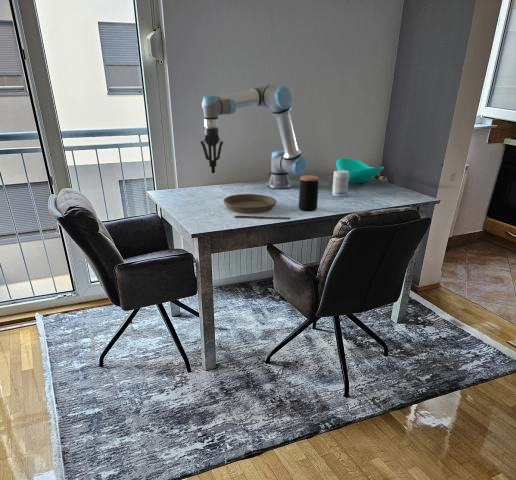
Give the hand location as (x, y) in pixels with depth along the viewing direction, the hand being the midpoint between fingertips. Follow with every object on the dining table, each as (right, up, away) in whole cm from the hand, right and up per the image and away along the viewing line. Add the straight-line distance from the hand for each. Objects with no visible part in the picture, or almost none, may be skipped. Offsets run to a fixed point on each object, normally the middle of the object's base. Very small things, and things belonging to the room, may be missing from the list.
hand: (213, 172), depth 268 cm
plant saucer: (+21, -18, +8) cm, 29 cm away
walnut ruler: (+28, -28, -10) cm, 41 cm away
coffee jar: (+55, -20, +6) cm, 58 cm away
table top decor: (+97, +17, +66) cm, 119 cm away
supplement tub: (+78, -2, +34) cm, 85 cm away
